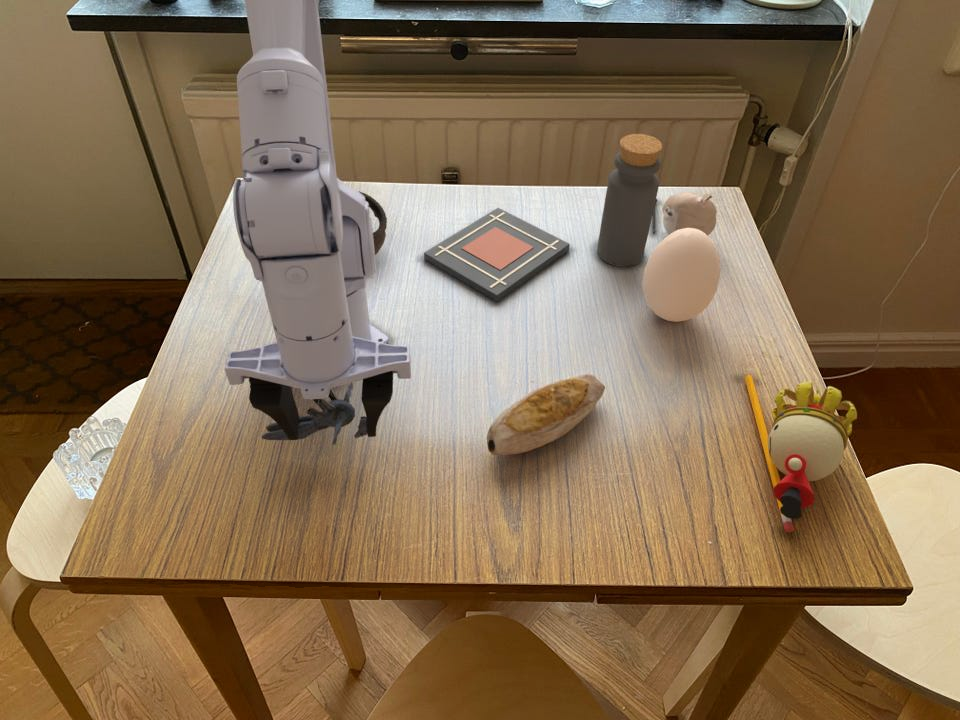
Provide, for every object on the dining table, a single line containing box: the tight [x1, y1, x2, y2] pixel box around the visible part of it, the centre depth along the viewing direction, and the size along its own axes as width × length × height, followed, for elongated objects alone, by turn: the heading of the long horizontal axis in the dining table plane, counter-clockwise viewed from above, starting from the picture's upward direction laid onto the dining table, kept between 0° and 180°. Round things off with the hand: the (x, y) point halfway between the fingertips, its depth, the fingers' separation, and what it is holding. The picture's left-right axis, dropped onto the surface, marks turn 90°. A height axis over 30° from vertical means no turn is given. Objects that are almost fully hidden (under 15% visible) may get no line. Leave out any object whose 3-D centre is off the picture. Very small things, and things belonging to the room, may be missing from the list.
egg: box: [642, 228, 721, 323], centre depth 77 cm, size 8×8×11 cm
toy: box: [768, 381, 858, 520], centre depth 64 cm, size 7×7×15 cm
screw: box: [652, 198, 658, 234], centre depth 95 cm, size 8×1×1 cm
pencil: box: [744, 374, 795, 533], centre depth 67 cm, size 1×18×1 cm, turn 175°
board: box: [423, 207, 571, 303], centre depth 88 cm, size 14×12×1 cm
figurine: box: [261, 382, 368, 446], centre depth 64 cm, size 12×10×5 cm
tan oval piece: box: [486, 374, 606, 457], centre depth 67 cm, size 5×14×4 cm, turn 126°
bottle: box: [596, 133, 663, 267], centre depth 84 cm, size 6×6×15 cm
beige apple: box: [662, 191, 718, 237], centre depth 89 cm, size 7×6×8 cm
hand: (333, 429), depth 63 cm, fingers closed on figurine, 6 cm apart
